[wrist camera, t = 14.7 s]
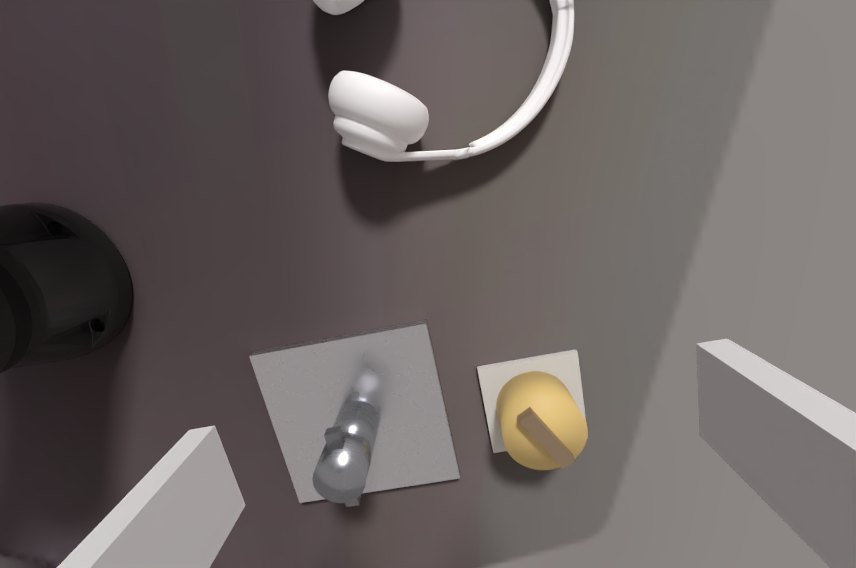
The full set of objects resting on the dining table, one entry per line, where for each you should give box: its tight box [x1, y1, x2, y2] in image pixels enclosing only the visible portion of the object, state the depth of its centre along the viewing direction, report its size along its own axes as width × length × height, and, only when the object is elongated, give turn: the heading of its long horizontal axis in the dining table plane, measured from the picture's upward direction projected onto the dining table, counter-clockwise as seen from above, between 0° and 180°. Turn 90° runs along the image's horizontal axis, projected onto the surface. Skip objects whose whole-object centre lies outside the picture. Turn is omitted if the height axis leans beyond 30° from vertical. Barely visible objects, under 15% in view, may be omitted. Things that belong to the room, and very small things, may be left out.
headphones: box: [313, 0, 574, 162], centre depth 31 cm, size 20×8×20 cm
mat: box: [477, 349, 588, 453], centre depth 43 cm, size 10×10×1 cm
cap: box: [496, 371, 588, 470], centre depth 40 cm, size 8×8×6 cm
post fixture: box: [249, 319, 460, 507], centre depth 39 cm, size 18×18×10 cm
